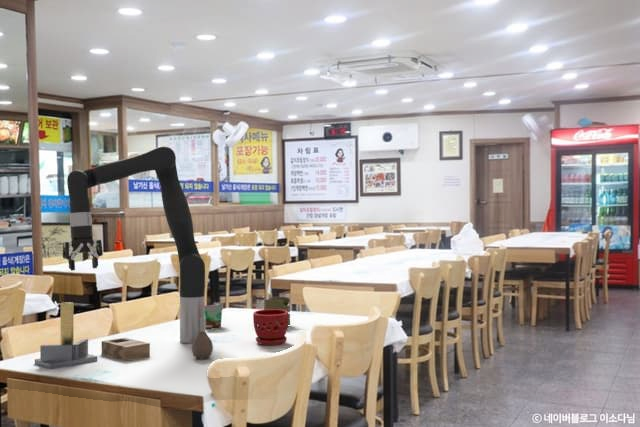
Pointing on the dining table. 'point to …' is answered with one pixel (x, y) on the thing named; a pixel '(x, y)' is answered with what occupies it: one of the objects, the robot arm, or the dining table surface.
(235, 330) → the dining table surface
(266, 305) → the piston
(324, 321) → the dining table surface
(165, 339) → the dining table surface
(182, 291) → the robot arm
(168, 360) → the dining table surface
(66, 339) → the axle
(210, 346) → the vase
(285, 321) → the plant pot
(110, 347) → the brown wooden box
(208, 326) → the food container
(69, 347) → the v block
